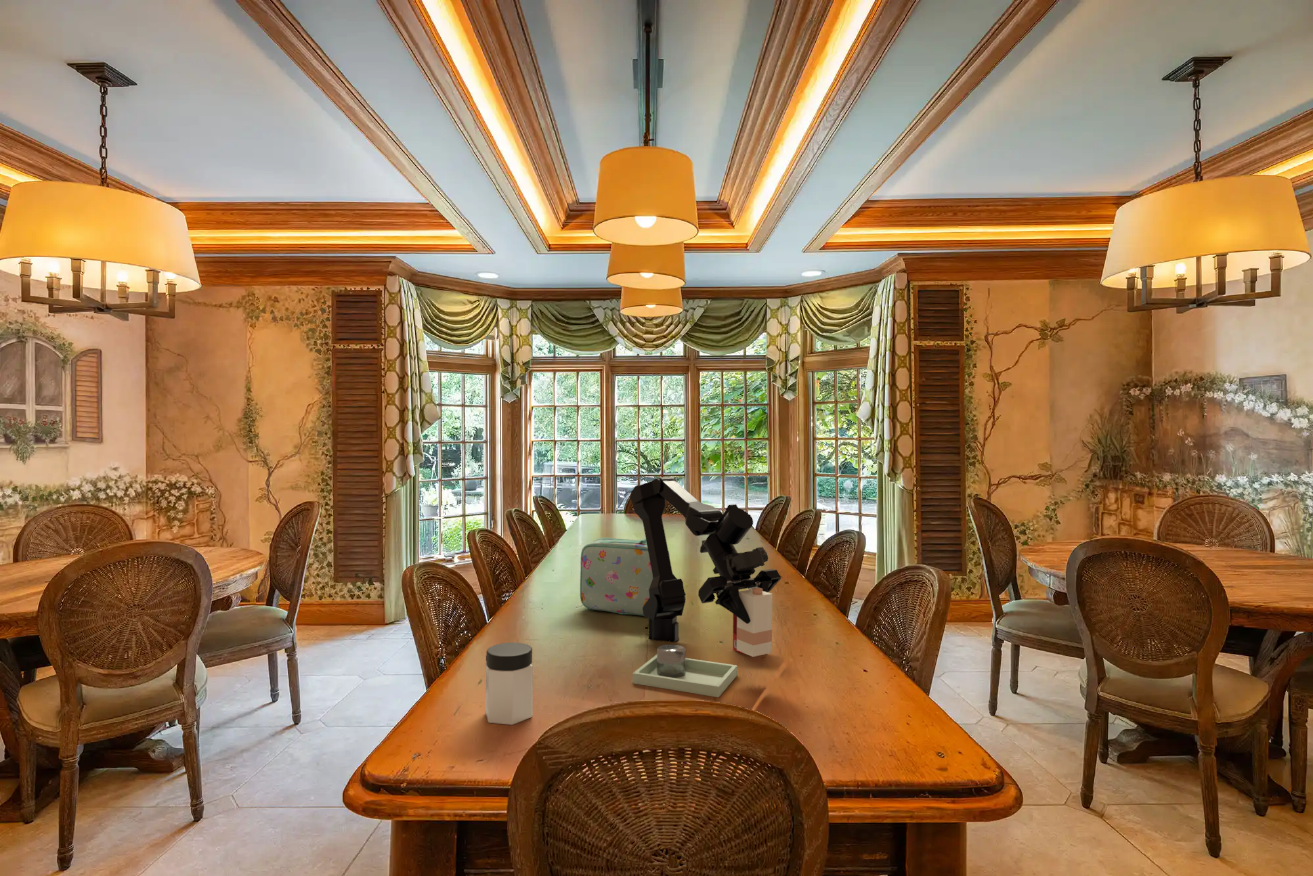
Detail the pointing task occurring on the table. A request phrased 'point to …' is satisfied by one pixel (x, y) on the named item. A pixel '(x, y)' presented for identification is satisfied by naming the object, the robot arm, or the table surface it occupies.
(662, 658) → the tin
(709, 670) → the tray
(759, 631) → the oat carton
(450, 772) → the table surface
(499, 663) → the jar
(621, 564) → the lunch box
